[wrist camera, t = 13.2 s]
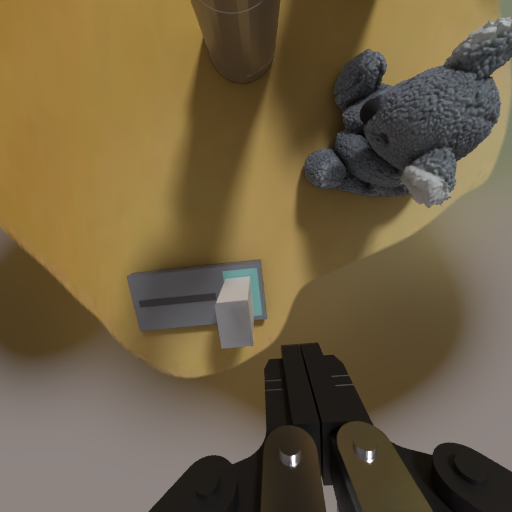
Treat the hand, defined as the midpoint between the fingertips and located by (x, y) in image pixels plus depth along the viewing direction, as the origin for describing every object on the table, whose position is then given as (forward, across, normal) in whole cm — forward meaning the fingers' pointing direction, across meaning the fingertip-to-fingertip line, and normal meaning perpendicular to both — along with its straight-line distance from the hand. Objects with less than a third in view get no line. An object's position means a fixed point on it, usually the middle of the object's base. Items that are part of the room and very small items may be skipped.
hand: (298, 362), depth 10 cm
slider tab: (+29, +5, +9) cm, 31 cm away
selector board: (+32, +12, +10) cm, 35 cm away
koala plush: (+32, -17, -12) cm, 38 cm away
